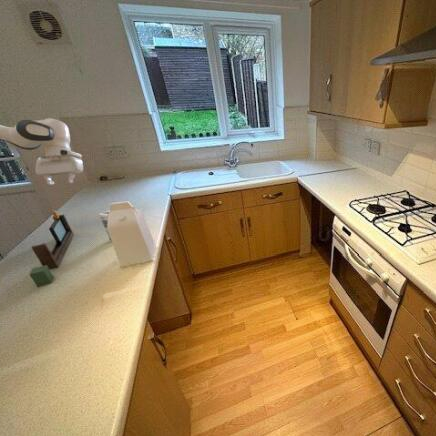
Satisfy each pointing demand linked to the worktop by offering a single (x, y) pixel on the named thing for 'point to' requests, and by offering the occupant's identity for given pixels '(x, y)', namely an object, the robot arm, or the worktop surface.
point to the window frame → (54, 248)
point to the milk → (130, 234)
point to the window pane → (58, 228)
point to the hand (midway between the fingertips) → (60, 183)
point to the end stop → (41, 275)
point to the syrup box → (105, 221)
